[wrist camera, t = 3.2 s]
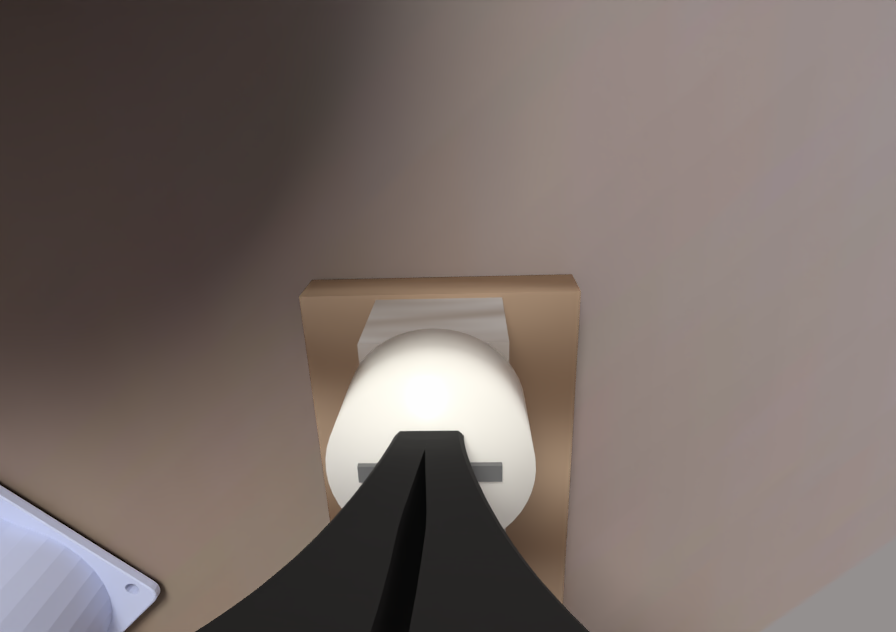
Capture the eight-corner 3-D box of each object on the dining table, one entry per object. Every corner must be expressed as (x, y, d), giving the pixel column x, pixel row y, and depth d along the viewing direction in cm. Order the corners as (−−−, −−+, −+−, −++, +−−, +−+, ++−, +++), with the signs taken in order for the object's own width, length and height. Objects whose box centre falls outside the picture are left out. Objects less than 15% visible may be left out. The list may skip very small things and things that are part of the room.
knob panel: (311, 279, 18) (264, 340, 14) (571, 274, 18) (603, 335, 13) (360, 655, 24) (338, 775, 20) (552, 656, 24) (570, 778, 20)
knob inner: (372, 420, 18) (335, 555, 13) (360, 287, 16) (312, 382, 11) (514, 419, 18) (534, 555, 13) (516, 284, 16) (539, 378, 11)
